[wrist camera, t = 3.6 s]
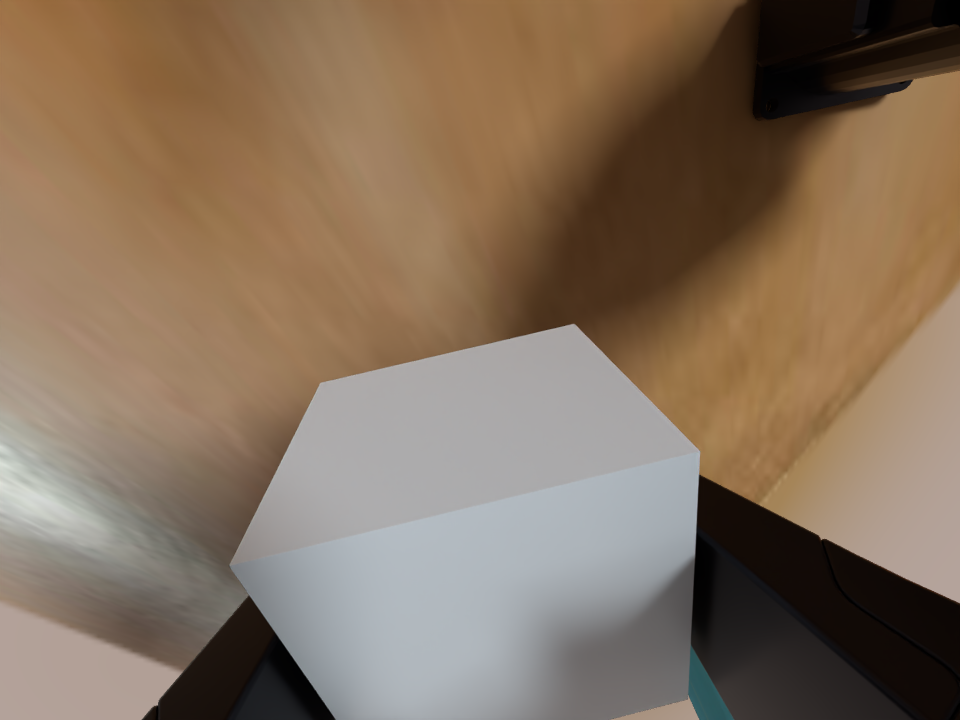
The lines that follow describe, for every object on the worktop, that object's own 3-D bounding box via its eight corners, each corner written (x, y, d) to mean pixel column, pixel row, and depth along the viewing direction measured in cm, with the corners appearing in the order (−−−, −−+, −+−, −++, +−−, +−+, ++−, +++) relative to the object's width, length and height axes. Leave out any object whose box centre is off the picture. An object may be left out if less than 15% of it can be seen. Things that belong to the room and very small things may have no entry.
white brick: (574, 323, 8) (699, 451, 4) (594, 510, 10) (687, 698, 6) (320, 383, 8) (229, 566, 4) (394, 559, 10) (377, 779, 6)
